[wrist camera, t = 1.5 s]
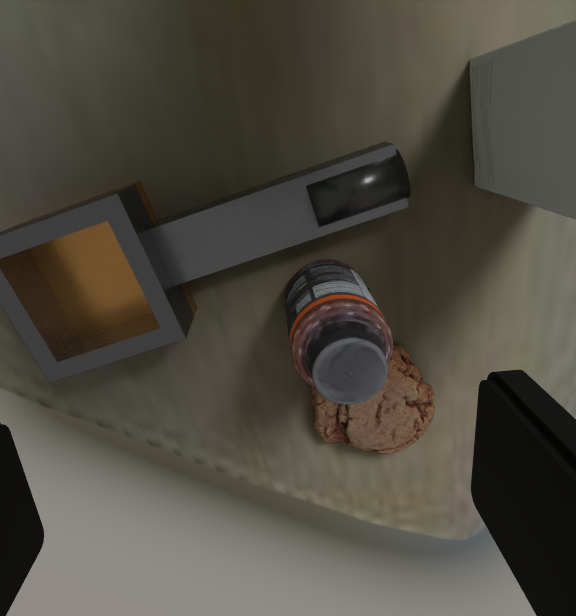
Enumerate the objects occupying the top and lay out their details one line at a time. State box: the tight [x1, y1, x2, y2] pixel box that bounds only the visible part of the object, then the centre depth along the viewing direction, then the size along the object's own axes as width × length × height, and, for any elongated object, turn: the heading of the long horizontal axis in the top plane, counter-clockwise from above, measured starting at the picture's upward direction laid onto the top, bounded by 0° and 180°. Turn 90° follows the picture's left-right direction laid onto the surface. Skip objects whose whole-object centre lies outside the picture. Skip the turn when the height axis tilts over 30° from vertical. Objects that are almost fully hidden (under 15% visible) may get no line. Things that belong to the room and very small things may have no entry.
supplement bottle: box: [285, 260, 393, 405], centre depth 29 cm, size 6×6×11 cm
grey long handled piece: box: [0, 142, 410, 383], centre depth 30 cm, size 26×10×5 cm, turn 109°
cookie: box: [311, 345, 434, 454], centre depth 37 cm, size 10×11×3 cm
